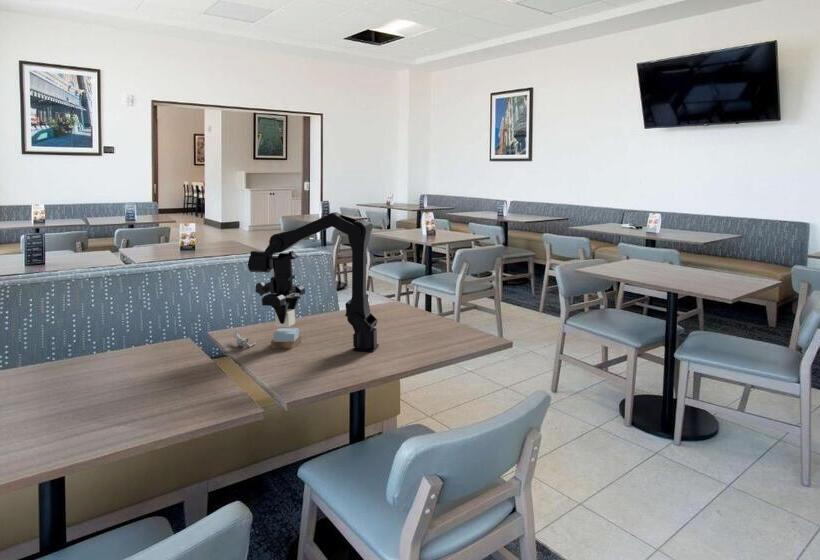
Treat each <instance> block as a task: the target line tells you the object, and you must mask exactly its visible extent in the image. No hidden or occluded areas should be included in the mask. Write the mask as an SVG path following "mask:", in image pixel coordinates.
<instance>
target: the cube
mask: <svg viewBox="0 0 820 560" xmlns="http://www.w3.org/2000/svg"><path fill="white" fill-rule="evenodd" d="M274 316H275V319H274V320H275V326H276V327H284V328H290V327H291V326H293V325H294V324H296V308H295V309H287V314H286V318H285V321H284V323H283V324H281V323H280V321H279V319H278V316H277V314H276V311H275V312H274Z"/></svg>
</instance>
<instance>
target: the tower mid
mask: <svg viewBox="0 0 820 560" xmlns="http://www.w3.org/2000/svg"><path fill="white" fill-rule="evenodd" d="M272 336H273V340H274V342H295V340H296V339H297V338H298V336H300V332H299V328H298V327H297V328H296V327H295V328H290V327H284V328H277V330H276V331H274V333H273V335H272Z"/></svg>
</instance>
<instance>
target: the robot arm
mask: <svg viewBox="0 0 820 560" xmlns="http://www.w3.org/2000/svg"><path fill="white" fill-rule="evenodd" d="M329 228H334V229H336V230H337V231H339V232H341V233H343V234H346V235H347V239H348V244H349V246H350V249H351V298H350V299H349V300H348V301H346V303H345V315H344V317H346V321H347V322H348V323H349V324H350V326H352V329H353V331H354V333H353V334H352V343H353V348H352V351H355V352H357V351H358V352H371V353H372V352H374V351H375V350H377V348H378V347H379V346H380V345H379V344H378V332H377V331H378V330H377V328H376V326H377V324H378V318H377V317H375V316H374V314H372V312H371V307H370V302H369V300H368V297H367V296H368V295H367V250H368V247H369V243H370V238H371V233H372V226H371V224H370V223H369V222H368V221H367V220H365V219H356V218H354V217H350V216H347V215H343V214H340V213H339V212H337V211H334V212H333V211H332V212H330V213H328V214H326V215H325V216H322V217H321V218H318V219H316V220H314V221H311V222H309V223H307V224H305V225H302V226H300V227H298V228H295V229H290V230H286V231H281V232H279V233H275V234H273V235H271V236H270V238H269V242H268V243H269V244H268V245H267V247H266V249H265V250H264V251H263V250H261V251H260V250H251V251H250V255H249V256H248V257H249V258H248V262H247V268H248V271H249V272H250V273H264V274H265V273H266V274H267V273H268V274H269V273H271V271H273V276H271V278H270V280H269V281H268V282H265V283H264V282H263V281H261V282H258V283H255V293H257V294H259V297H261V296H262V297H261V305H262V306H266V307H267V306H268V307H269V306H270V307H272V308H273V309H274V311H275V312H276V314H277V316H278V319H279V321H280V323H281V324H283V323H284V321H285V318H286V314H287V309H295V310H296V308H297V306H298V303H299V301H300V300H301V296H303V295H305V294H306V288H305V286H304V284H294V279H295V278H296V275H295V274H293V260H296V259H298V258H299V255H298V254H296V253H295V252H294V251H293V250H290V249H291V248H293V247H294V246H297V244H298V243H300V242H301V241H302V240H304V239H307V238H309V237H311V236H314V235H316V234H318V233H320V232H323V231H325V230H327V229H329ZM288 250H290V251H288ZM285 251H288V253H286V252H285ZM276 254H278V255H276ZM297 294H298V295H299V296H298V295H297Z"/></svg>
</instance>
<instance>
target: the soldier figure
mask: <svg viewBox="0 0 820 560" xmlns="http://www.w3.org/2000/svg"><path fill="white" fill-rule="evenodd" d="M233 338H235V339H236V340H235V341H236V344H237V346H239V347H244V348H248V347H250V348H252V347H253V345H254V346H255V345H256V344H257V343H256V342H255V341H254V342H253V343H251V344H249V340H250V338H246V337H245V336H242V337H241V335H240V334H239V328H236V329H235V332H234V335H233ZM251 346H252V347H251Z"/></svg>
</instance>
